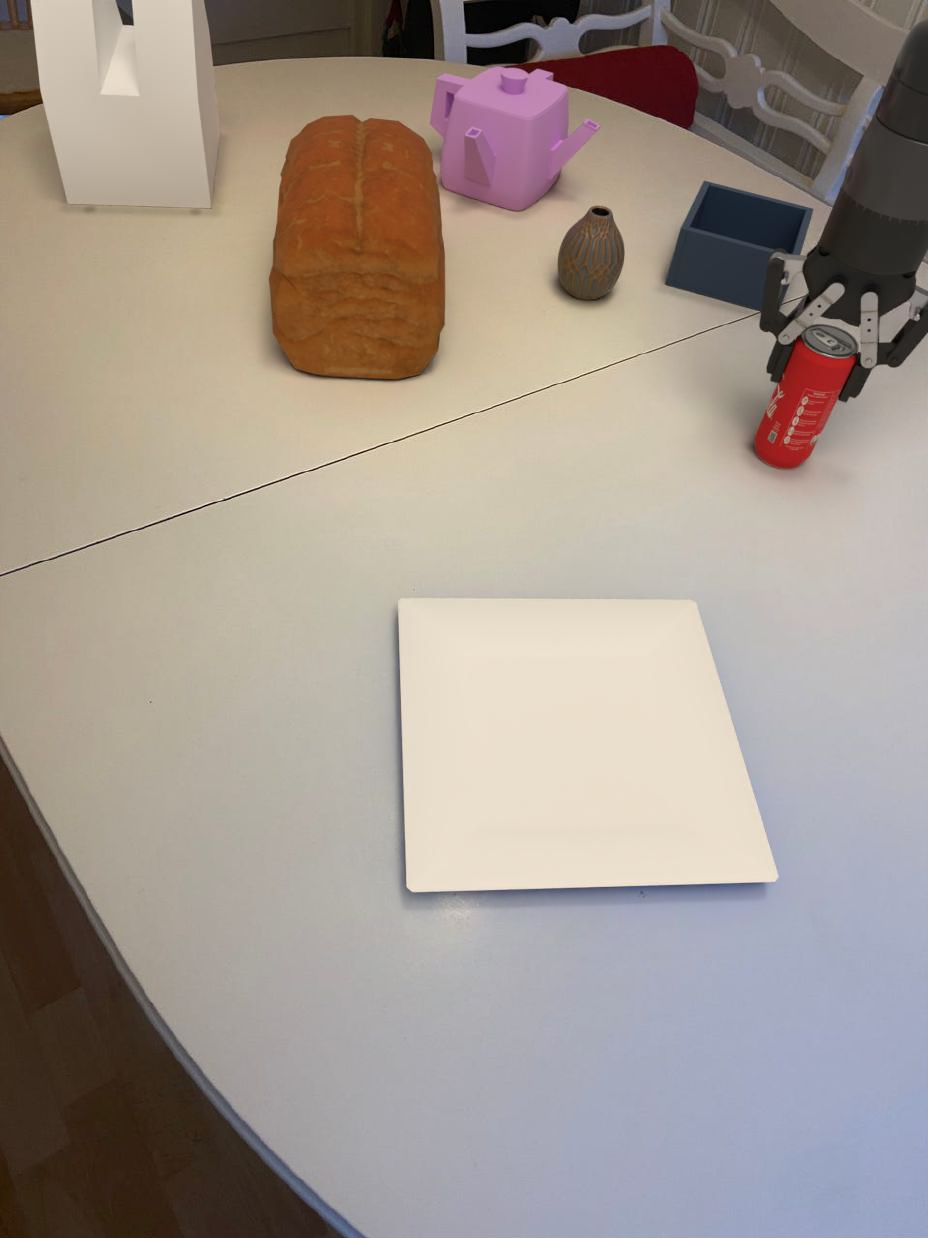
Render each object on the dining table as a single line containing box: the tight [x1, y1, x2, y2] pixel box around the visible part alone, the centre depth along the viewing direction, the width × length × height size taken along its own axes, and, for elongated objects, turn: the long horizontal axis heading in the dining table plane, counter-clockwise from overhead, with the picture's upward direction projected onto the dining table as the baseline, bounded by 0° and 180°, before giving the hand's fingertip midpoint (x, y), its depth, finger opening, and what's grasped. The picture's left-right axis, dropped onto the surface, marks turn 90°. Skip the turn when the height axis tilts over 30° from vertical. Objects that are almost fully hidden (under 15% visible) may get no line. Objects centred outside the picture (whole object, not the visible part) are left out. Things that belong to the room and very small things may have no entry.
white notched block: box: [30, 0, 221, 209], centre depth 100 cm, size 19×15×25 cm
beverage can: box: [754, 323, 860, 470], centre depth 80 cm, size 5×5×12 cm
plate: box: [397, 597, 780, 893], centre depth 62 cm, size 22×22×2 cm
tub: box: [664, 180, 814, 312], centre depth 103 cm, size 13×13×6 cm
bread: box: [268, 114, 446, 380], centre depth 89 cm, size 16×27×16 cm, turn 3°
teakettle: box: [429, 65, 601, 212], centre depth 110 cm, size 17×17×12 cm
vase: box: [556, 205, 626, 301], centre depth 97 cm, size 7×7×9 cm
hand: (808, 385), depth 79 cm, fingers closed on beverage can, 5 cm apart
